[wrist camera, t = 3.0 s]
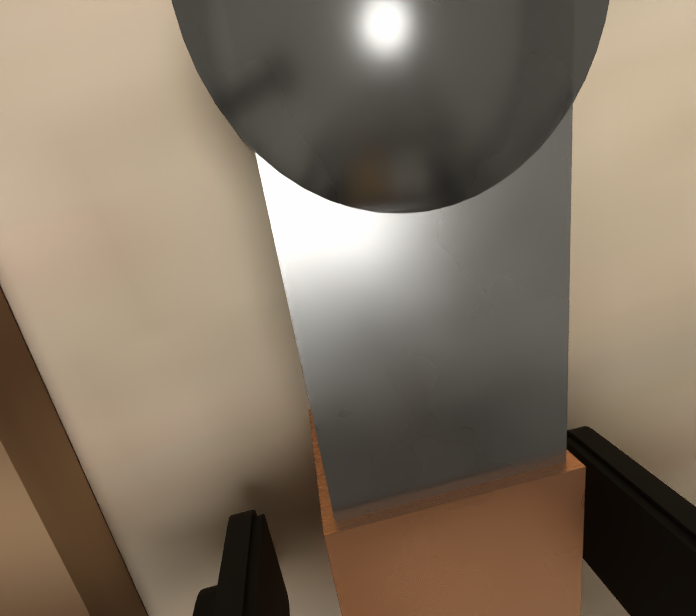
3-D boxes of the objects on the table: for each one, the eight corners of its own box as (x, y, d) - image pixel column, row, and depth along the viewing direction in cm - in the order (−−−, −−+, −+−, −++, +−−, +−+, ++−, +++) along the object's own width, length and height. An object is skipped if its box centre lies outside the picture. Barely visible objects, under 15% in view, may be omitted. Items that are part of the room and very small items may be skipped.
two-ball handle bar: (507, 733, 15) (579, 904, 11) (380, 776, 14) (412, 971, 10) (464, -97, 7) (646, -393, 3) (185, -73, 6) (68, -393, 3)
